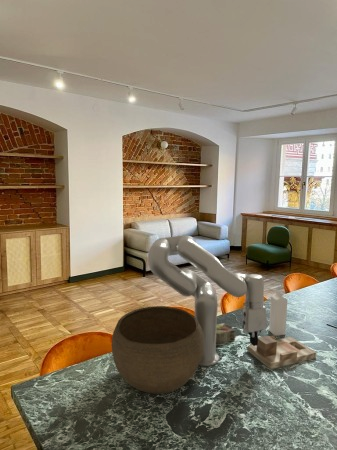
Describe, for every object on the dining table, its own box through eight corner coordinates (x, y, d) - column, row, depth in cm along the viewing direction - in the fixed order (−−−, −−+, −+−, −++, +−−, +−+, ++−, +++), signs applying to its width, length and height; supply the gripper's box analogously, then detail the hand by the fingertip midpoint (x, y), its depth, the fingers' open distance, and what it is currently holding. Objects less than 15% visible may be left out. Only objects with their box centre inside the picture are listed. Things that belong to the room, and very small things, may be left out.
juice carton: (225, 331, 174) (226, 320, 173) (237, 340, 165) (237, 328, 164) (192, 339, 166) (192, 328, 165) (202, 349, 157) (202, 336, 156)
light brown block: (264, 357, 145) (265, 344, 144) (256, 350, 150) (257, 337, 149) (276, 354, 147) (276, 341, 146) (267, 348, 152) (268, 335, 152)
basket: (215, 370, 139) (219, 315, 133) (173, 429, 109) (175, 362, 104) (145, 343, 156) (145, 294, 151) (92, 388, 127) (90, 329, 121)
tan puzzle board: (270, 369, 140) (270, 357, 139) (247, 350, 155) (248, 340, 154) (316, 357, 149) (316, 347, 149) (290, 341, 164) (291, 331, 163)
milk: (274, 336, 170) (276, 294, 166) (268, 330, 176) (270, 290, 172) (285, 334, 171) (288, 293, 168) (279, 329, 177) (281, 289, 174)
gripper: (244, 309, 136) (244, 352, 139) (274, 303, 141) (273, 344, 144) (234, 303, 143) (234, 343, 145) (263, 298, 148) (262, 337, 151)
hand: (253, 344), depth 145 cm, fingers closed
